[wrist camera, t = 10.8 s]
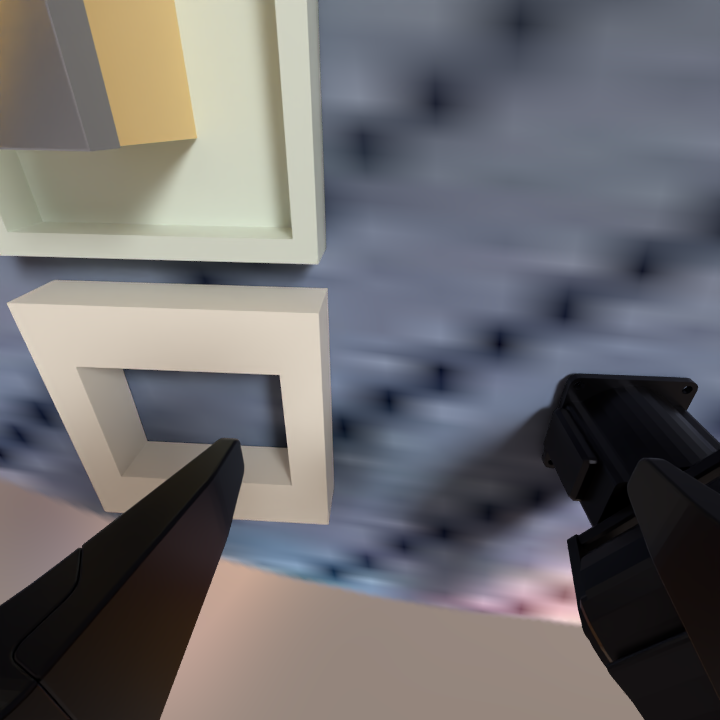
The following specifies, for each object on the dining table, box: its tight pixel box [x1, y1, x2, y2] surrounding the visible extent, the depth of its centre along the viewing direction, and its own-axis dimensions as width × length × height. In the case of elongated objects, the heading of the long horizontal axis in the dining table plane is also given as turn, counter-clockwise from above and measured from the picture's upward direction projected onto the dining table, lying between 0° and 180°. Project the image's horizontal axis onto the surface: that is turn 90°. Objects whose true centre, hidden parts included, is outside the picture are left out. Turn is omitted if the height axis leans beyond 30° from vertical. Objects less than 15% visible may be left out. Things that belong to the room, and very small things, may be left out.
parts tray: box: [0, 0, 326, 264], centre depth 14 cm, size 14×15×2 cm
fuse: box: [0, 0, 197, 152], centre depth 12 cm, size 4×6×7 cm
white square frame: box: [7, 280, 334, 525], centre depth 23 cm, size 14×14×3 cm
